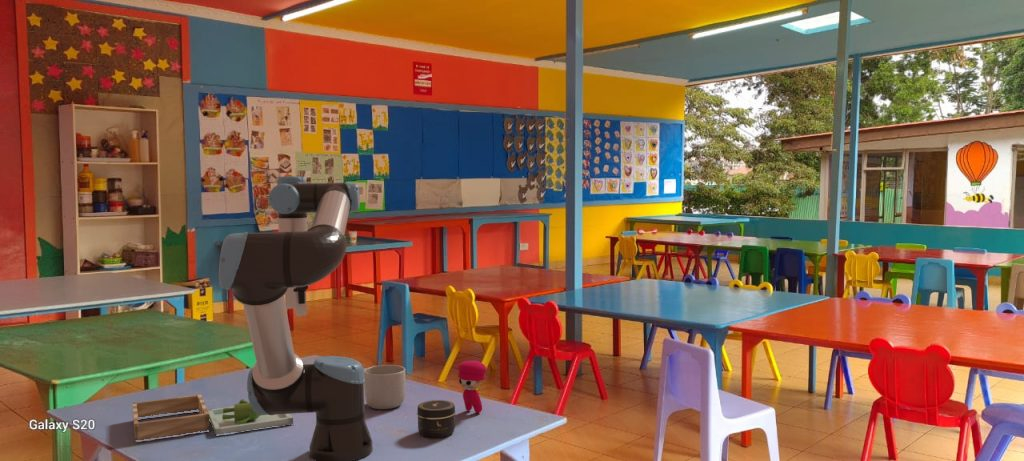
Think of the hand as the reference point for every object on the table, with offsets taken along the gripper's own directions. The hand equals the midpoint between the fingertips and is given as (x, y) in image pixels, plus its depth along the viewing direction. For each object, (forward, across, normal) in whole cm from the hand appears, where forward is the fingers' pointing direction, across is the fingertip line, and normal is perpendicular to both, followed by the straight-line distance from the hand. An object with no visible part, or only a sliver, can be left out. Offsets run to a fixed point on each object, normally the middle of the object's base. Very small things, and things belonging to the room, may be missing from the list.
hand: (295, 312), depth 205 cm
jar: (+32, -23, -31) cm, 50 cm away
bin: (+32, +19, +31) cm, 48 cm away
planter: (+32, +8, -27) cm, 43 cm away
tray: (+32, +13, +11) cm, 36 cm away
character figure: (+31, +11, +12) cm, 35 cm away
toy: (+32, -11, -47) cm, 58 cm away
